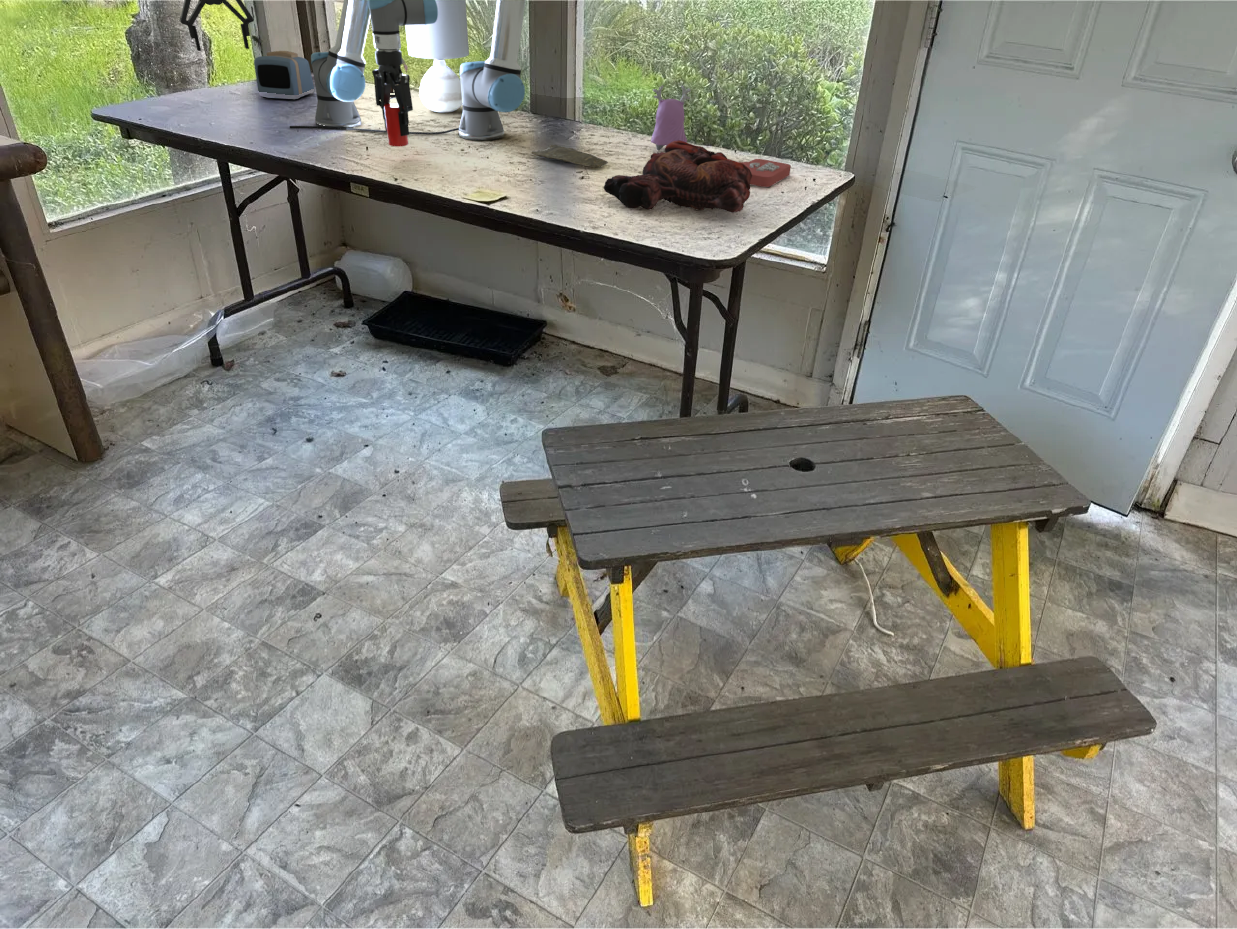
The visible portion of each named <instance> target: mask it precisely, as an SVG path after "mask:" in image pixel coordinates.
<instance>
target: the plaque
mask: <svg viewBox="0 0 1237 929" xmlns="http://www.w3.org/2000/svg"><path fill="white" fill-rule="evenodd" d="M739 162H740V163H742V164H744V165H745V166H746V167H747V168H749V169H750V171H751V173H752V178H751V180H750V186H751V185H752V186H755V187H762V188H769V187H772V186H773V185H775V184H777V183H779V182H780V181H782V180H784V179H786V178H788V177H789V176H790V175H791V168H792V165H791V164H789V163H786V162H781V161H775V160H769V159H763V158H754V159H752V160H749V161H739Z"/></svg>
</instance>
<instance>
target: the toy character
mask: <svg viewBox="0 0 1237 929" xmlns="http://www.w3.org/2000/svg"><path fill="white" fill-rule="evenodd" d="M680 88H681V90H682V95H681V98H680V100H678V99H676V98H666V99H664V98H663V97H662V91H663V89H664V85H663V84H662V85H661V86H659V87H658V89H656V88H652V91H653V92H654V93H656V95H653V98H654V99H657V100H658V105H657V109H656V113H655V125H654V129H653V133H652V135H651V139H650V143H652V144H654V145H655V148H656V150H658V151H660V150H662V149H663V148H665V147H666V146H667V145H668V144H669V143H671V142H673V141H677V140H680V141H684V142H686V143H688V139H687V136H686V132H685V125H684V124H685V110H684V108H685V107H684V104H685V100H690V99H691V96H688V95H687V94H688V93H690V92H692V89H691V88H689V87H688V88H686V87H685V86H684V85H683V84H682V85H681V87H680Z"/></svg>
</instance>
